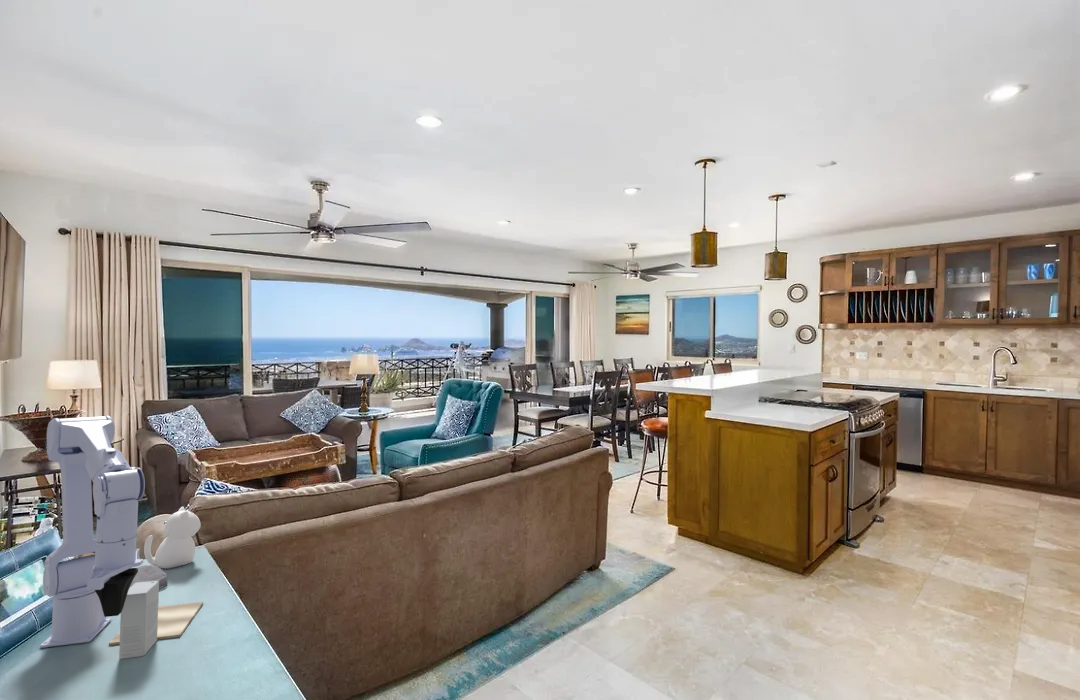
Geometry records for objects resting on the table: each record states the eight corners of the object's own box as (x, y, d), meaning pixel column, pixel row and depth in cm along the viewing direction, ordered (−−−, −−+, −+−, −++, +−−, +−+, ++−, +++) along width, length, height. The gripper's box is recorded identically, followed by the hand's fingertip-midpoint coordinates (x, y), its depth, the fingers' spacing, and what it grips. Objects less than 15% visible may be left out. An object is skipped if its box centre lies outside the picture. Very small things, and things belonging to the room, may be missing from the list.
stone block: (171, 591, 130) (149, 576, 134) (174, 573, 129) (151, 558, 134) (116, 613, 119) (93, 596, 123) (118, 594, 119) (96, 577, 123)
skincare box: (132, 643, 103) (135, 581, 103) (157, 640, 104) (160, 579, 104) (117, 659, 97) (120, 595, 97) (144, 656, 98) (147, 592, 98)
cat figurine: (201, 564, 142) (204, 509, 143) (144, 576, 134) (148, 517, 135) (195, 555, 149) (198, 503, 150) (140, 565, 140) (144, 509, 141)
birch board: (141, 610, 116) (141, 608, 116) (202, 604, 119) (203, 601, 119) (108, 645, 102) (108, 642, 102) (179, 637, 105) (180, 634, 105)
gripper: (124, 549, 87) (120, 631, 87) (159, 524, 101) (155, 594, 101) (73, 553, 85) (69, 637, 85) (115, 527, 99) (112, 598, 99)
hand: (113, 614), depth 93 cm, fingers closed
